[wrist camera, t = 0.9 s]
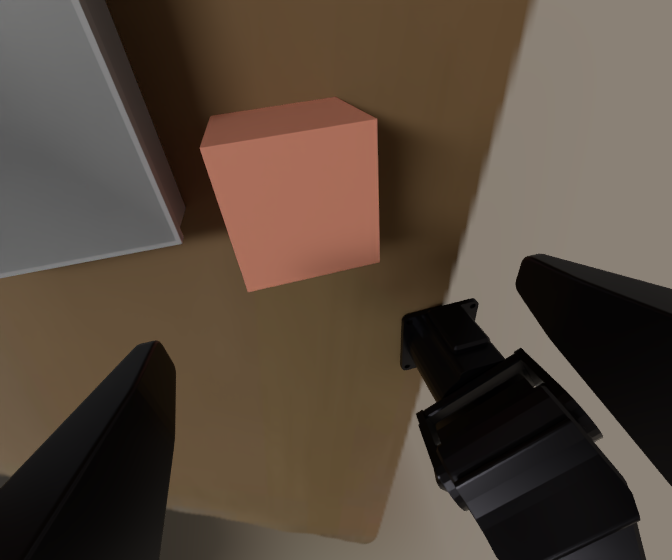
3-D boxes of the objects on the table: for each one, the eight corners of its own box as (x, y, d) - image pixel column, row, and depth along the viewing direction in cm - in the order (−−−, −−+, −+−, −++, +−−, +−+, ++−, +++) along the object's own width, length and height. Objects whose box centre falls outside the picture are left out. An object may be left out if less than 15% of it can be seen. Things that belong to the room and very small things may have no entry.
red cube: (344, 209, 20) (379, 262, 15) (244, 229, 19) (248, 292, 14) (335, 96, 16) (377, 118, 11) (210, 115, 15) (199, 148, 10)
